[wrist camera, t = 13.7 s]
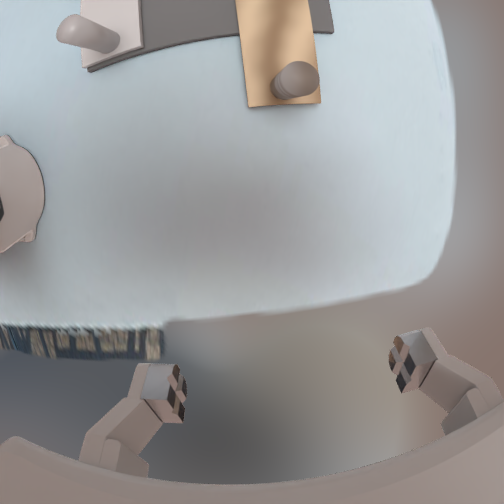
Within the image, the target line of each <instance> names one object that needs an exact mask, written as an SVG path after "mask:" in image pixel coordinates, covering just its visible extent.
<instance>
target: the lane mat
mask: <svg viewBox="0 0 504 504" xmlns="http://www.w3.org/2000/svg"><path fill="white" fill-rule="evenodd" d="M308 4H309V10H310V16H311V22H312V28H313V33H329V34H332V33H334V26H333V20H332V14H331V9H330V4H329V0H308ZM141 18H142V33H143V45H144V47H143V48H140V49H137V50H133V51H130V52H127V53H124V54H121V55H119V56H116V57H113V58H110V59H108V60H105V61H103V62H100V63H98V64H95V65H93V66H90V67H88V68H87V70H88V72H93V71H96V70H98V69H101V68H103V67H106V66H109V65H111V64H114V63H117V62H120V61H123V60H126V59H129V58H132V57H135V56H138V55H141V54H145V53H148V52H152V51H155V50H159V49H163V48H167V47H171V46H176V45H180V44H185V43H190V42H195V41H200V40H206V39H212V38H219V37H226V36H235V35H240V33H239V25H238V17H237V10H236V2H235V0H141Z"/></svg>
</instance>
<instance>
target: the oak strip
mask: <svg viewBox="0 0 504 504" xmlns="http://www.w3.org/2000/svg"><path fill="white" fill-rule="evenodd" d="M235 2H236V10H237V17H238V25H239V33H240V41H241V49H242V57H243V65H244V73H245V82H246V90H247V99H248V107H256V106H268V105H283V104H307V103H321V95H320V85H319V81H320V80H319V74H318V66H317V57H316V50H315V42H314V35H313V28H312V22H311V16H310V10H309V4H308V0H235Z"/></svg>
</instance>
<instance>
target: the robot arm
mask: <svg viewBox="0 0 504 504" xmlns="http://www.w3.org/2000/svg"><path fill="white" fill-rule="evenodd" d="M43 206H44V186H43V180H42V176H41V173H40V170H39V168H38V165H37V163H36V162H35V160H34V158H33V157H32V156H31V154H30V153H29V152H28V151H27V150H25V149H24V148H22V147H20V146H18V145H16V144H14V142H13V141H12V140H11V138H10V137H9V136H8V135H3V136H1V137H0V252H1V253H3V252H5V251H6V250H7V249H8V248H10V247H11V246H12V245H14V244H15V243H16V242H18V241H19V242H31V241H33V240H34V239H35V236H36V225H37V223H38V221H39V219H40V217H41V214H42V211H43ZM393 343H394V345H395V346H394V347H393V348H392V349H391V350H390V353H389V365H390V368H391V371H392V372H393V373H394V374H396V375H397V378H396V382H397V385H398V387H399V389H400V391H401V393H405V392H408V391H411V390H415V389H418V388H419V389H420V390H421V391H422V392H423V393H425V394H426V395H427V396H428V397H429V398H431V399H432V400H433V401H434V402H436V403H437V404H438V405H439V406H441V407H442V408H443V409H444V410H445V411H447V412H448V413H449V414H448V415H447V416H446V417H445V418H444V420H443V421H442V423H441V426H442V428H443V431H444V433H445V436H444V437H441V438H439V439H437V440H435V441H433V442H431V443H428V444H426V445H424V446H421V447H419V448H416V449H414V450H411V451H409V452H406V453H404V454H401V455H398V456H395V457H392V458H390V459H387V460H384V461H380V462H377V463H374V464H370V465H367V466H363V467H360V468H356V469H352V470H348V471H344V472H340V473H335V474H330V475H325V476H320V477H314V478H308V479H302V480H294V481H286V482H277V483H265V484H245V485H213V484H194V483H182V482H172V481H164V480H157V479H150V478H147V475H148V468H149V465H148V464H147V462H145V461H144V460H143V459H141V458H140V457H139V456H138V454H139V453H140V452H141V451H142V449H143V448H144V447H145V446H146V444H147V443H148V442H149V440H150V439H151V438H152V437H153V436H154V434H155V433H156V432H157V430H158V429H159V428H160V427H161V425H162V424H163V423H162V422H164V423H165V422H166V423H183V421H184V413H185V408H184V406H183V404H182V403H183V402H184V401H185V400H186V398H187V384H186V381H185V378H184V377H183V376H182V375H180V374H179V373H180V368H179V367H178V365H177V364H149V363H139V364H138V365H137V367H136V369H135V373H134V376H133V379H132V383H131V386H130V390H129V393H128V397H127V398H123V399H122V400H121V401H120V402H119V403H118V404H117V405H116V406H114V407H113V408H112V409H111V410H110V411H109V412H108V413H107V414H106V415H105V416H104V417H103V418H102V419H100V420H99V421H98V422H97V423H96V424H95V425H94V426H93V427H92V428H91V429H90V430H89V431H87V433H86V435H85V439H84V442H83V445H82V449H81V453H80V457H79V460H78V461H77V460H74V459H71V458H68V457H65V456H62V455H60V454H57V453H55V452H52V451H50V450H47V449H45V448H42V447H40V446H38V445H36V444H33V443H31V442H29V441H27V440H25V439H23V438H21V437H18V436H14V437H11V438H9V439H8V440H6V441H5V442H4V443H2V444H1V445H0V504H504V399H503V397H502V395H501V394H500V392H499V390H498V388H497V386H496V385H495V383H494V381H493V379H492V378H491V377H490V376H487V375H486V374H484V373H483V372H481V371H479V370H477V369H475V368H474V367H472V366H470V365H468V364H467V363H465V362H463V361H461V360H460V359H458V358H456V357H454V356H452V355H449V356H448V354H447V352H446V351H445V349H444V348H443V346H442V344H441V343H440V341H439V340H438V338H437V337H436V335H435V333H434V332H433V330H432V329H431V328H430V327H427V328H424V329H420V330H416V331H412V332H409V333H405V334H402V335H398V336H396V337H395V339H394V342H393Z"/></svg>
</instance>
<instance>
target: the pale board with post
mask: <svg viewBox="0 0 504 504" xmlns="http://www.w3.org/2000/svg"><path fill="white" fill-rule="evenodd" d="M56 37H57V40H58V41H59V42H61V43H66V44H70V45H74V46H78V47H81V57H82V68H88V67H90V66H93V65H95V64H98V63H100V62H103V61H105V60H108V59H110V58H113V57H116V56H119V55H121V54H124V53H127V52H130V51H133V50H137V49H140V48H143V47H144V45H143V33H142V18H141V0H81V12H80V15H77V14H74V15H70V16H68V17H67V18H65V19H64V20H63V21H62V22H61V24H60V25H59V27H58V29H57V33H56Z"/></svg>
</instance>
